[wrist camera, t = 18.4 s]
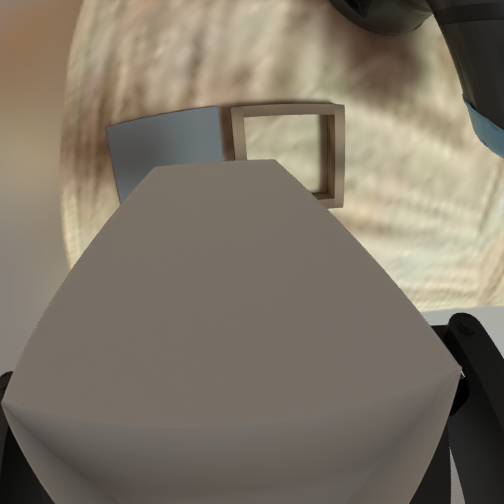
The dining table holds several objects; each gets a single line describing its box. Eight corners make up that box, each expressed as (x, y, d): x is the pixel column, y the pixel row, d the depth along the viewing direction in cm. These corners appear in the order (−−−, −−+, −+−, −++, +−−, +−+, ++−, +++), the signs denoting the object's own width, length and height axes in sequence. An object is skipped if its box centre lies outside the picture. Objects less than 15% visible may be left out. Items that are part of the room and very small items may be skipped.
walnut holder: (229, 107, 29) (230, 107, 26) (335, 104, 29) (344, 104, 27) (239, 209, 35) (240, 217, 32) (335, 200, 35) (343, 207, 33)
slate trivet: (107, 126, 27) (105, 127, 27) (217, 106, 28) (217, 106, 28) (128, 226, 34) (127, 228, 33) (229, 213, 35) (229, 214, 34)
